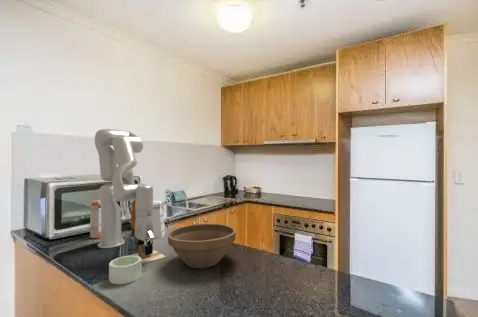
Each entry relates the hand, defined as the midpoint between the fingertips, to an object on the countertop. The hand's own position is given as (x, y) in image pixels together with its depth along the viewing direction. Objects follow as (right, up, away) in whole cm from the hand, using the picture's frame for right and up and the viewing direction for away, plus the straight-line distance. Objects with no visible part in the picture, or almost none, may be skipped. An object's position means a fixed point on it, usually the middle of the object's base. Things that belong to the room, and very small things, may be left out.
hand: (144, 251), depth 113 cm
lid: (0, -3, 0) cm, 3 cm away
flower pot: (+27, -2, -5) cm, 27 cm away
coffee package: (-21, -4, +52) cm, 56 cm away
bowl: (0, -2, -19) cm, 19 cm away
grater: (-7, -3, +33) cm, 34 cm away
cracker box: (-38, -4, +36) cm, 52 cm away
